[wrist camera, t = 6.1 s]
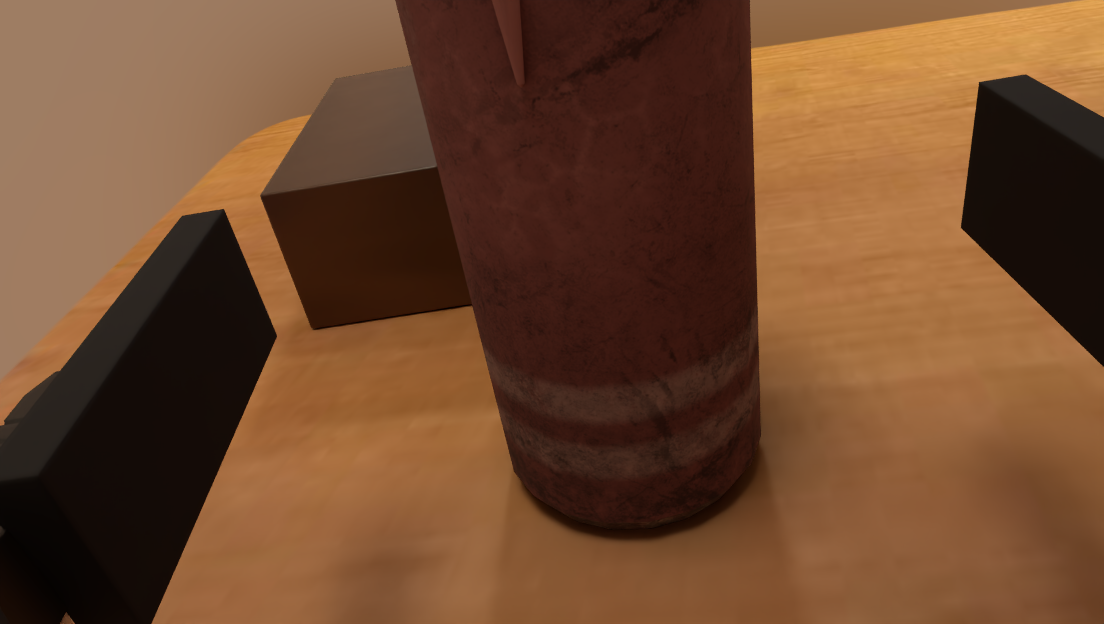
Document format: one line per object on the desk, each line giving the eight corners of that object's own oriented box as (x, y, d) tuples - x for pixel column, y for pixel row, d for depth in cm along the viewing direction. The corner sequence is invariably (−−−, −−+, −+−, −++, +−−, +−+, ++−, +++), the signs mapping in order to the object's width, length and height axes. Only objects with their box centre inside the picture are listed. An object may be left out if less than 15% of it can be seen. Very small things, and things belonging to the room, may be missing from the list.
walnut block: (625, 142, 37) (612, 30, 34) (665, 274, 27) (651, 130, 24) (367, 185, 37) (334, 78, 35) (311, 329, 27) (258, 195, 25)
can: (490, 552, 18) (276, -173, 11) (533, 374, 23) (410, -195, 16) (772, 551, 17) (758, -266, 9) (750, 364, 22) (730, -256, 15)
